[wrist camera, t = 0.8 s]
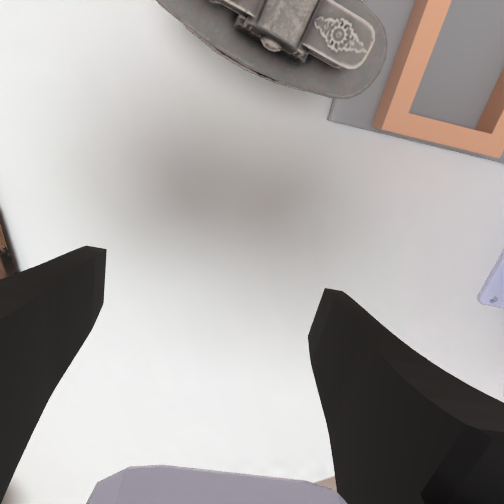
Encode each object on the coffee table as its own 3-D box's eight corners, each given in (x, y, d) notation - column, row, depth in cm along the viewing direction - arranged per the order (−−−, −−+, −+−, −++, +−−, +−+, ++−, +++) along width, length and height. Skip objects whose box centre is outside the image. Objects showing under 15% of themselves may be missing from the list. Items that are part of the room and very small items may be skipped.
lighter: (347, 39, 18) (452, 5, 9) (313, 105, 19) (377, 133, 10) (194, -51, 16) (139, -200, 7) (168, 29, 18) (94, -17, 9)
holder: (651, -106, 16) (704, -129, 14) (510, 164, 21) (535, 172, 19) (420, -191, 15) (445, -228, 13) (327, 119, 20) (336, 124, 18)
